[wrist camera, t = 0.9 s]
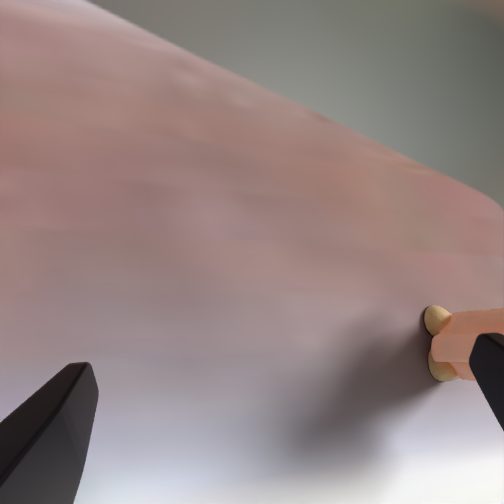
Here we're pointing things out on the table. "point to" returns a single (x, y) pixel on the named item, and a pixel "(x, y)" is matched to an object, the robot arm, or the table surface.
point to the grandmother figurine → (457, 339)
